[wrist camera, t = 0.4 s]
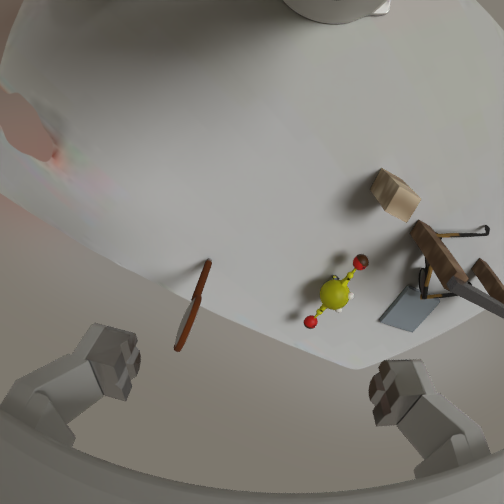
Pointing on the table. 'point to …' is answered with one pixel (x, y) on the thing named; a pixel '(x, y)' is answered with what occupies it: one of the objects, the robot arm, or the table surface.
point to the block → (395, 195)
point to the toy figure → (336, 292)
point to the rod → (475, 296)
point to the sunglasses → (427, 271)
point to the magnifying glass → (192, 309)
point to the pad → (409, 310)
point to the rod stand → (453, 262)
